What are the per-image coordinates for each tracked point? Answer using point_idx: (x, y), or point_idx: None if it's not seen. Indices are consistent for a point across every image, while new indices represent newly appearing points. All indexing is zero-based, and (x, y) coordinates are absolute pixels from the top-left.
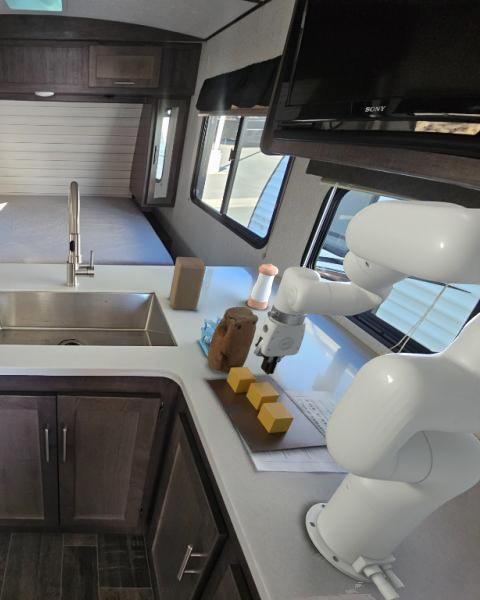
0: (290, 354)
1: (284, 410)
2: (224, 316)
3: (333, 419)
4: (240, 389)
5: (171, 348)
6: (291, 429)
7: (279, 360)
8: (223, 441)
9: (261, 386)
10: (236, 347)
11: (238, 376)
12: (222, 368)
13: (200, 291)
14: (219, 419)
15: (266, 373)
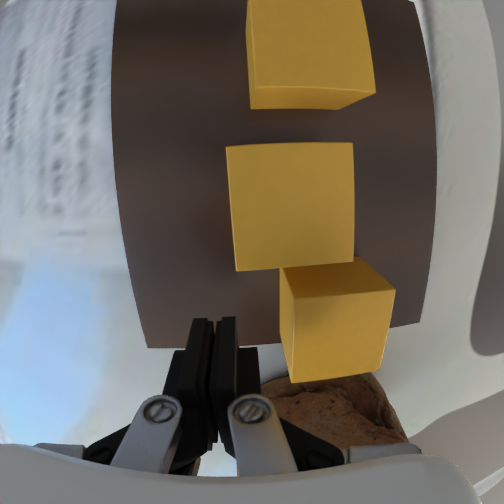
0: (47, 467)
1: (275, 29)
2: None
3: None
4: (347, 263)
5: (415, 431)
6: (220, 40)
7: (150, 412)
8: (473, 61)
9: (305, 230)
10: None
11: (387, 313)
12: (356, 377)
13: None
14: (463, 134)
15: (236, 325)
